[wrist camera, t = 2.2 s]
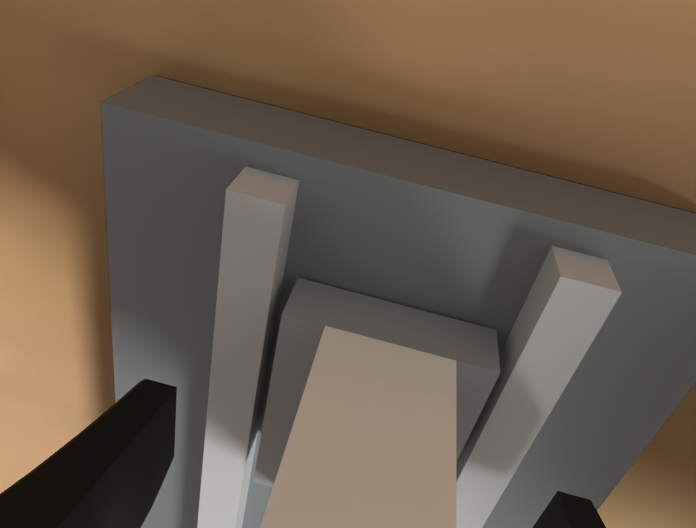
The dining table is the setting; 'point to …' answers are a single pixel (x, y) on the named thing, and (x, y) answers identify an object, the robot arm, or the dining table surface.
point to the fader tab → (369, 411)
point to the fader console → (384, 292)
